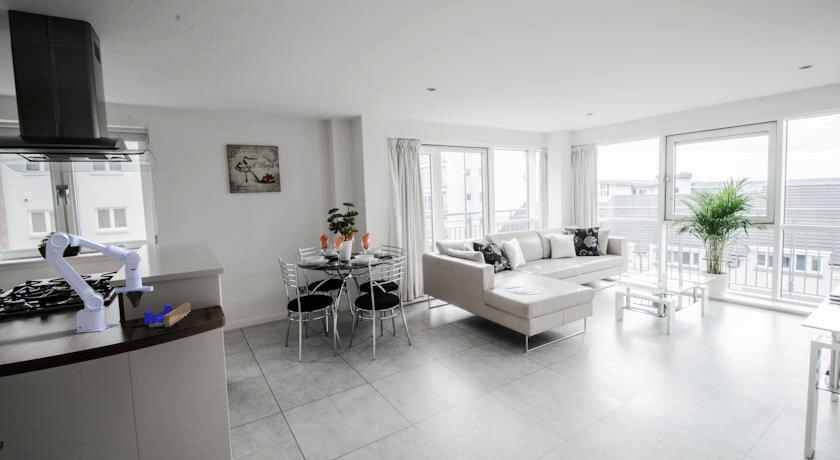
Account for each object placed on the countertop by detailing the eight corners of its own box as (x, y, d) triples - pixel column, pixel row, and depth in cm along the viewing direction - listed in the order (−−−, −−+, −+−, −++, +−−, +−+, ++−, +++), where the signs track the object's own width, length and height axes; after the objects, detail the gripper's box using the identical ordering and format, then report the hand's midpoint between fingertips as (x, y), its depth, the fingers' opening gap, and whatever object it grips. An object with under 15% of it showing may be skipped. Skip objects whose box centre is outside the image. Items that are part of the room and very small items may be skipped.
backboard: (165, 327, 166) (164, 315, 166) (186, 312, 187) (185, 302, 187) (170, 326, 167) (169, 315, 166) (190, 312, 187) (189, 302, 187)
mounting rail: (149, 327, 167) (148, 322, 166) (169, 314, 185) (169, 310, 184) (166, 326, 168) (166, 321, 168) (185, 313, 186) (184, 309, 186)
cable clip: (164, 317, 181) (163, 304, 181) (172, 317, 181) (172, 305, 180) (142, 325, 170) (141, 312, 169) (150, 325, 169) (149, 312, 168)
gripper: (155, 275, 177) (157, 303, 179) (121, 276, 175) (123, 305, 176) (147, 278, 170) (149, 308, 172) (111, 280, 168) (114, 310, 169)
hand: (136, 307), depth 174 cm, fingers closed
